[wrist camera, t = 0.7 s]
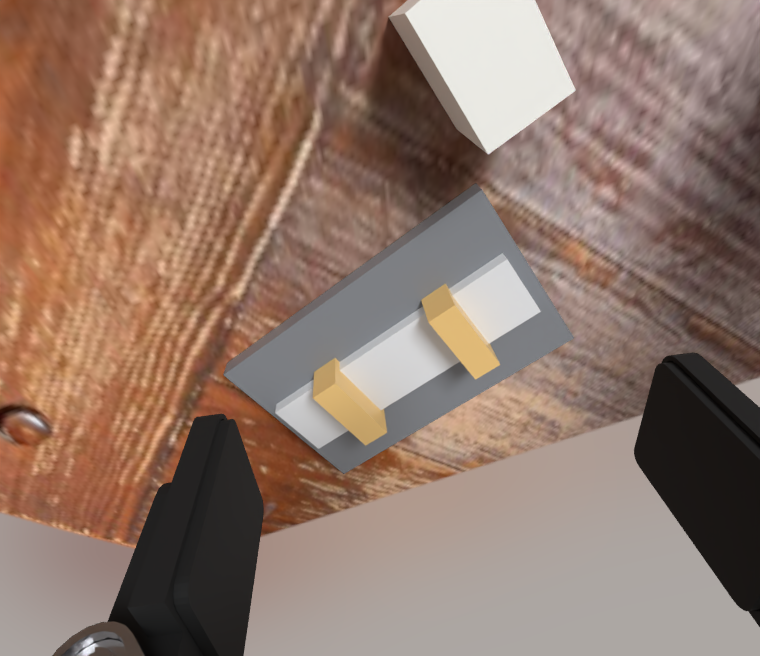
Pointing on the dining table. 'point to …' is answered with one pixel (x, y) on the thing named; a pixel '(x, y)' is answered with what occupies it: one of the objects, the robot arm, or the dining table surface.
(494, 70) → the block
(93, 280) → the dining table surface
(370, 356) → the rail board
